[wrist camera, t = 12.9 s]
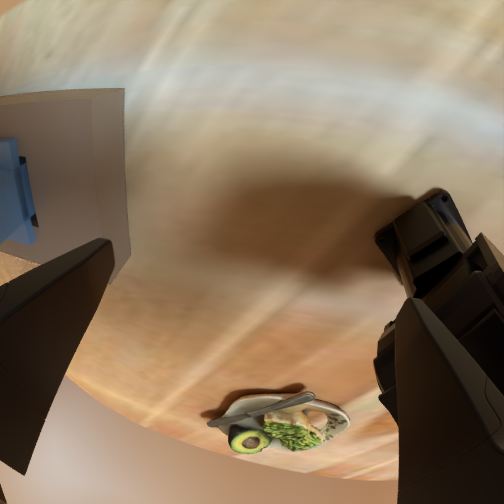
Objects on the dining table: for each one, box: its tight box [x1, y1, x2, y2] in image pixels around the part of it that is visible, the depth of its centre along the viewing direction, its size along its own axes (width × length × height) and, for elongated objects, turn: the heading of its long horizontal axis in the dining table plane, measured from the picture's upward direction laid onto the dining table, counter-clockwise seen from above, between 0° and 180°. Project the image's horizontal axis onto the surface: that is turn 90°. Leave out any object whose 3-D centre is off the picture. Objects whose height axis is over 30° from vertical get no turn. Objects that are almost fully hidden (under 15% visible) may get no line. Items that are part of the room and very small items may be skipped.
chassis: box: [0, 88, 131, 284], centre depth 21 cm, size 18×14×4 cm
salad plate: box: [207, 391, 350, 454], centre depth 38 cm, size 19×18×5 cm
